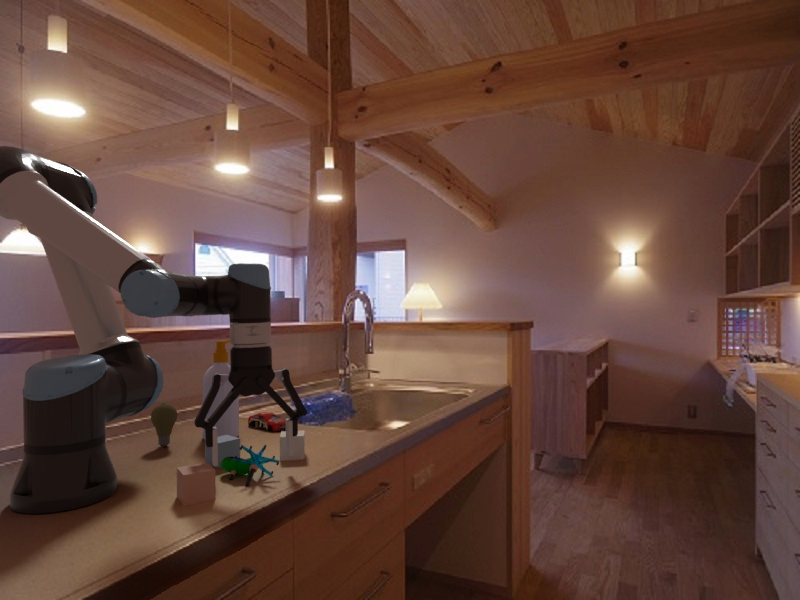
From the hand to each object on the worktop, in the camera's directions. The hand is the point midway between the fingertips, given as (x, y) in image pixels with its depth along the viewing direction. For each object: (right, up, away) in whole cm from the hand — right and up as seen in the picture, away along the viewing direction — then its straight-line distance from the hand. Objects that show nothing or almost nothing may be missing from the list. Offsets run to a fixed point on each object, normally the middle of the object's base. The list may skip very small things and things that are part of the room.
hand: (253, 459), depth 97 cm
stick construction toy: (-1, -4, -1) cm, 4 cm away
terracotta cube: (-7, -3, -11) cm, 13 cm away
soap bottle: (-17, -4, +31) cm, 36 cm away
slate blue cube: (-9, -4, +9) cm, 13 cm away
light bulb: (-27, -4, +22) cm, 35 cm away
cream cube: (+5, -4, +13) cm, 15 cm away
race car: (-8, -5, +41) cm, 42 cm away
